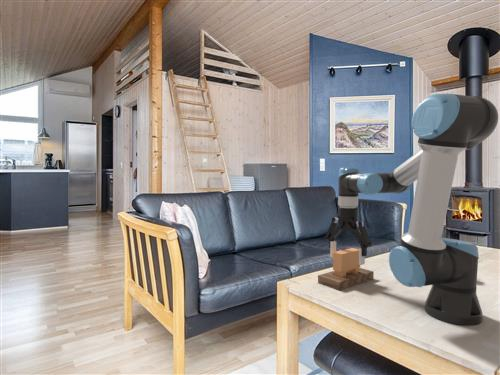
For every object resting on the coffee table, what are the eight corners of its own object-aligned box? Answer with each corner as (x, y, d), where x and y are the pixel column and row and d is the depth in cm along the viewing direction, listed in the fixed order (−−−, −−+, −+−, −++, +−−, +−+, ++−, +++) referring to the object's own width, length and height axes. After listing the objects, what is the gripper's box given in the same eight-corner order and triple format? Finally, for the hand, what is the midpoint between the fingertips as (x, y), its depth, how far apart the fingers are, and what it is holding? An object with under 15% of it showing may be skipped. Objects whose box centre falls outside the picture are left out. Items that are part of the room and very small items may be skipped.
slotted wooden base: (338, 290, 125) (339, 282, 125) (317, 282, 133) (318, 275, 133) (373, 278, 138) (373, 271, 138) (352, 272, 146) (352, 265, 146)
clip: (340, 285, 130) (341, 254, 130) (332, 282, 134) (333, 252, 133) (359, 279, 138) (360, 249, 137) (351, 276, 141) (352, 247, 140)
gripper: (382, 209, 126) (380, 266, 127) (329, 203, 146) (328, 252, 147) (370, 210, 122) (369, 269, 123) (317, 204, 142) (316, 255, 143)
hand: (346, 260), depth 135 cm, fingers open, 13 cm apart
